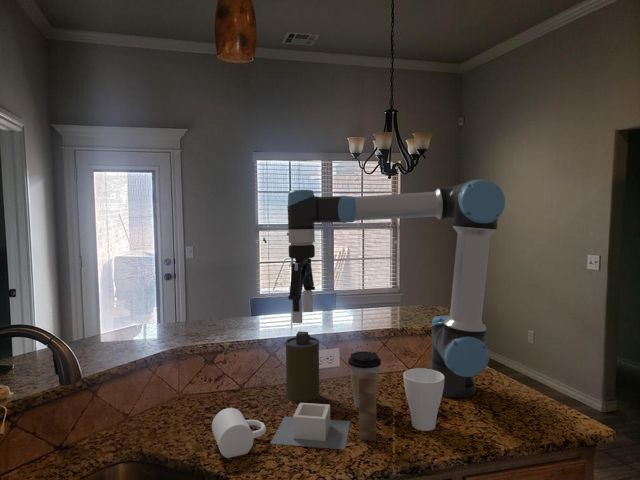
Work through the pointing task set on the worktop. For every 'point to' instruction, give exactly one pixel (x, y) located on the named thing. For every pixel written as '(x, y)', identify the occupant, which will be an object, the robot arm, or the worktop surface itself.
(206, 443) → the worktop surface
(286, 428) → the mat
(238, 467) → the worktop surface
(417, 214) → the robot arm
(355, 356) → the coffee cup
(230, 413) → the mug
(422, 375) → the cup
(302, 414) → the white square holder
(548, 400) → the worktop surface
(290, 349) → the canister
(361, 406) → the brown wooden block
